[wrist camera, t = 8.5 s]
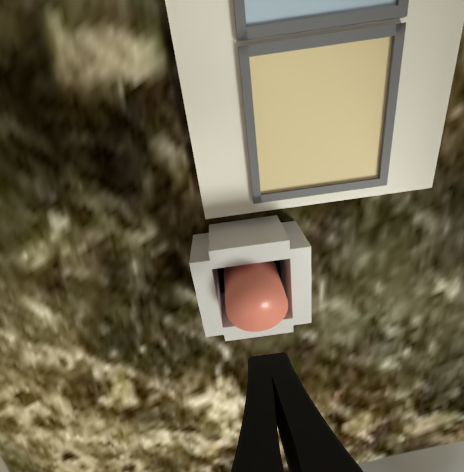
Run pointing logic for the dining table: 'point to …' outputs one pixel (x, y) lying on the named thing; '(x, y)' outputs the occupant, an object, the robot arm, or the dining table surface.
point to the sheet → (313, 97)
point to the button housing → (249, 252)
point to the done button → (254, 296)
